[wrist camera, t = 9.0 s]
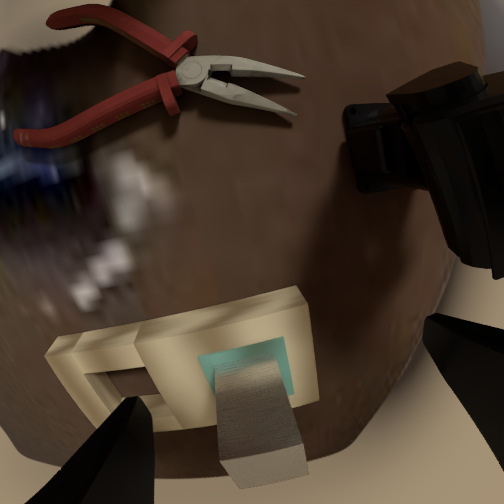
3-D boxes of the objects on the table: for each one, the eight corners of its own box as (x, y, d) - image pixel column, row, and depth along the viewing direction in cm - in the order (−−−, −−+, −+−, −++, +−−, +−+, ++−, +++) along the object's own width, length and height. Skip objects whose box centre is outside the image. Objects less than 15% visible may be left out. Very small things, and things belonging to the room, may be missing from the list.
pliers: (280, 177, 19) (289, 180, 17) (24, 148, 16) (4, 148, 13) (308, 34, 16) (320, 20, 13) (60, 18, 12) (47, 6, 10)
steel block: (273, 351, 19) (303, 443, 11) (282, 390, 20) (308, 474, 13) (214, 364, 19) (219, 461, 11) (229, 402, 20) (240, 489, 13)
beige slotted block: (295, 285, 21) (308, 305, 18) (309, 378, 24) (319, 401, 21) (57, 336, 20) (43, 357, 17) (107, 412, 23) (100, 434, 20)
